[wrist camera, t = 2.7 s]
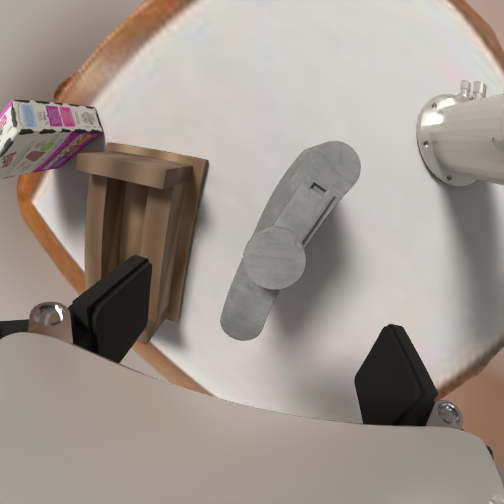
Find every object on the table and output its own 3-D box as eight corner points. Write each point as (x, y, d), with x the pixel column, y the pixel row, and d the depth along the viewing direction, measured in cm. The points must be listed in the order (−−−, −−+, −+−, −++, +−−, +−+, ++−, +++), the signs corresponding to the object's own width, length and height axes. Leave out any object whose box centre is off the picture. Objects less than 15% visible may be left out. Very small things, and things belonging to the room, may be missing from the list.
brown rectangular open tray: (99, 289, 43) (68, 315, 34) (110, 142, 34) (70, 143, 26) (179, 318, 42) (156, 354, 34) (207, 159, 34) (182, 162, 26)
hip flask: (267, 263, 38) (246, 368, 19) (240, 249, 37) (193, 342, 19) (329, 156, 32) (382, 159, 13) (300, 139, 32) (316, 118, 13)
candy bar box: (95, 104, 33) (11, 96, 17) (104, 132, 34) (18, 133, 19) (50, 144, 35) (-27, 153, 20) (59, 169, 37) (-20, 186, 21)
